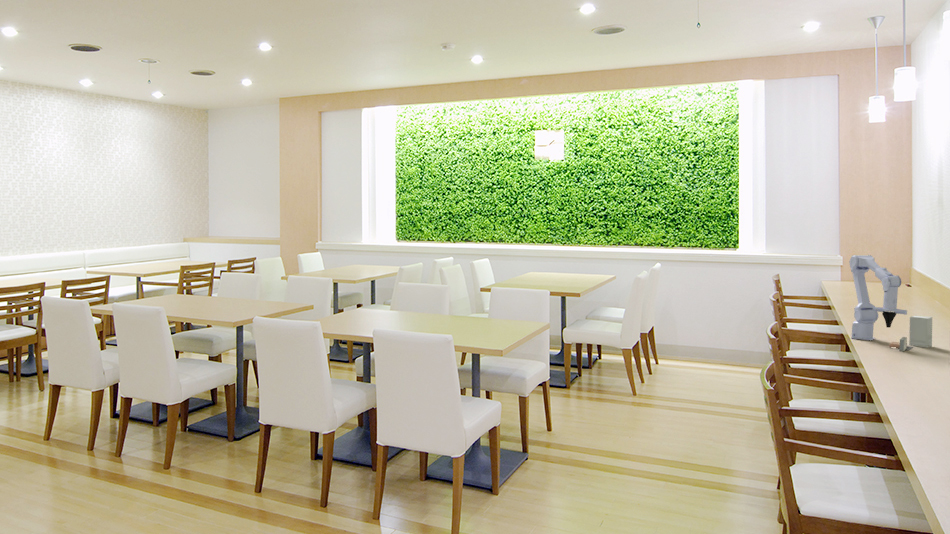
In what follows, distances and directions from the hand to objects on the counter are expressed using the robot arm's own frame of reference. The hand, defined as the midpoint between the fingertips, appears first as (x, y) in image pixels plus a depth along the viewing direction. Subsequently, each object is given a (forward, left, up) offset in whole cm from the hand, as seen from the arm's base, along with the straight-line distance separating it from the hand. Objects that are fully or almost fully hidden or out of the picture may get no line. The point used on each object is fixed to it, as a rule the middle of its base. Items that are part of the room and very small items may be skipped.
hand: (888, 327), depth 331 cm
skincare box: (+12, +12, -10) cm, 19 cm away
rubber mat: (+6, 0, -10) cm, 11 cm away
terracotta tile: (+2, 0, -8) cm, 8 cm away
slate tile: (+8, -7, -9) cm, 14 cm away
